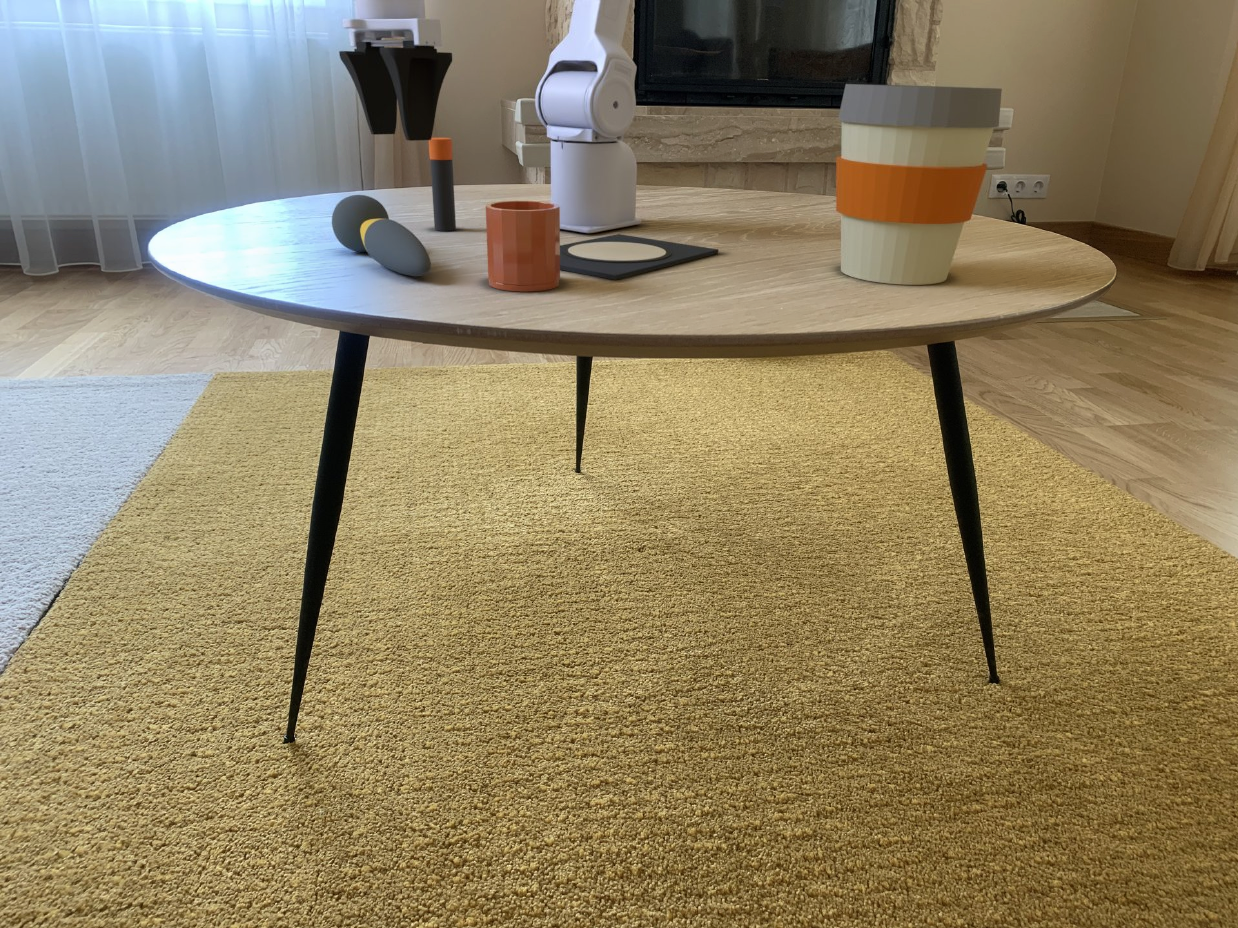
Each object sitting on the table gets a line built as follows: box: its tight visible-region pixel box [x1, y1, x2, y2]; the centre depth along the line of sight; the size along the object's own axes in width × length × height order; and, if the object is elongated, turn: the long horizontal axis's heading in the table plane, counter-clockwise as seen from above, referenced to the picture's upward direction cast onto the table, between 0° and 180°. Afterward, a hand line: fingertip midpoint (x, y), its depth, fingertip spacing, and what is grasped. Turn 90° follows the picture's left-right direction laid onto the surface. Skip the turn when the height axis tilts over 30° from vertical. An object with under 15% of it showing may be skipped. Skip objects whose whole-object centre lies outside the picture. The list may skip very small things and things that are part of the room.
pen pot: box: [485, 200, 561, 293], centre depth 68 cm, size 6×6×6 cm
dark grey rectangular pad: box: [560, 233, 719, 281], centre depth 80 cm, size 16×12×1 cm
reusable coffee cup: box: [835, 83, 1003, 286], centre depth 73 cm, size 13×13×15 cm
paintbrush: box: [331, 194, 432, 277], centre depth 74 cm, size 20×5×5 cm, turn 38°
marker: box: [428, 137, 457, 232], centre depth 89 cm, size 2×2×9 cm
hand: (400, 137), depth 77 cm, fingers open, 7 cm apart
